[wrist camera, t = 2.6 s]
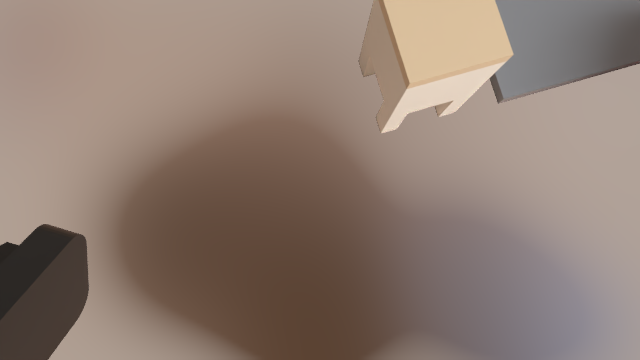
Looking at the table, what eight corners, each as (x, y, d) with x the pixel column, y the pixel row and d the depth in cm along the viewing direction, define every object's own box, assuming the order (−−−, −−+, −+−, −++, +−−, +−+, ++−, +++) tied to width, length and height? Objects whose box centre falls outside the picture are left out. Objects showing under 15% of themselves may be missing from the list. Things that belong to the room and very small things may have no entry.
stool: (358, 61, 41) (377, -17, 29) (430, 41, 41) (479, -45, 29) (380, 133, 40) (410, 83, 28) (454, 112, 40) (513, 54, 28)
